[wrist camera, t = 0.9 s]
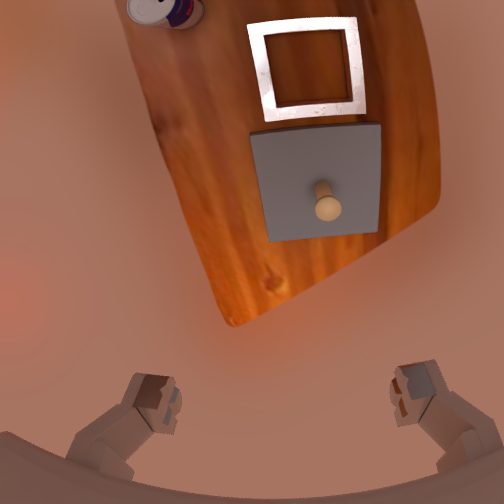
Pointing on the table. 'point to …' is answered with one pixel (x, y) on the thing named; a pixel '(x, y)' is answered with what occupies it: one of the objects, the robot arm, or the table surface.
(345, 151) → the keeper board
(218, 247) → the table surface
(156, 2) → the energy drink
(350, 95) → the ring link
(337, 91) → the table surface
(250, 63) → the table surface
